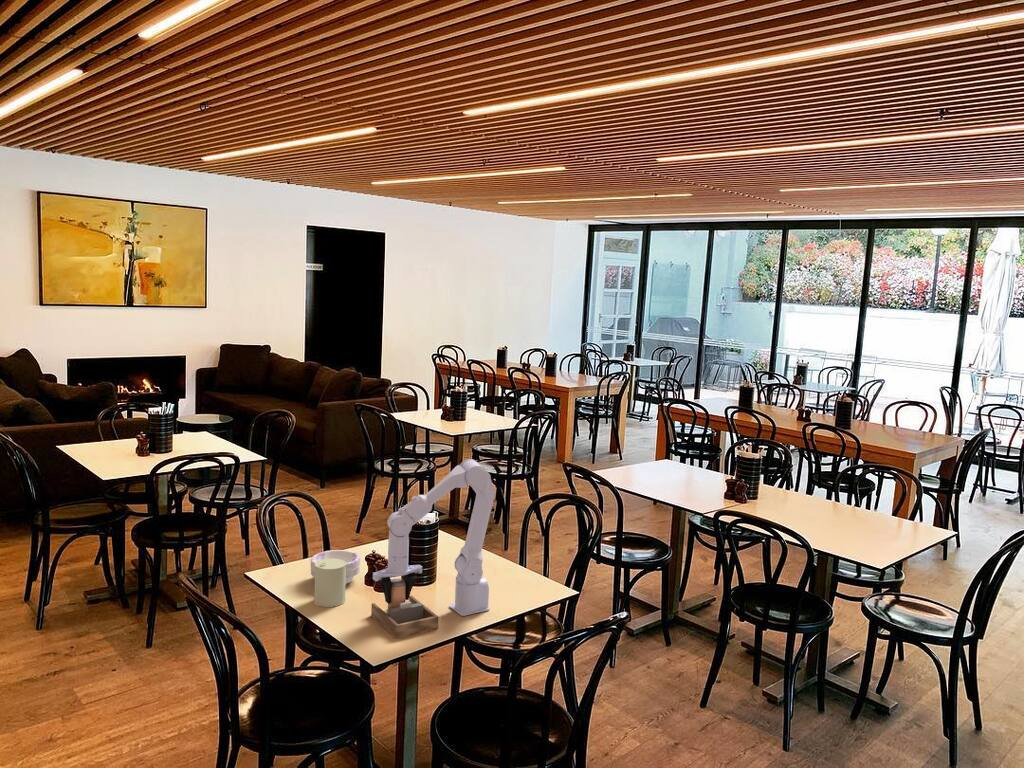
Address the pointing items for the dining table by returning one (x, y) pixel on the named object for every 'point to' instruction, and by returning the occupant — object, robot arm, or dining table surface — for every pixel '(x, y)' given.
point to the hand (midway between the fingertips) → (397, 600)
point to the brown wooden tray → (409, 627)
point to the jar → (397, 593)
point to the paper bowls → (348, 556)
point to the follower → (406, 612)
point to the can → (330, 582)
